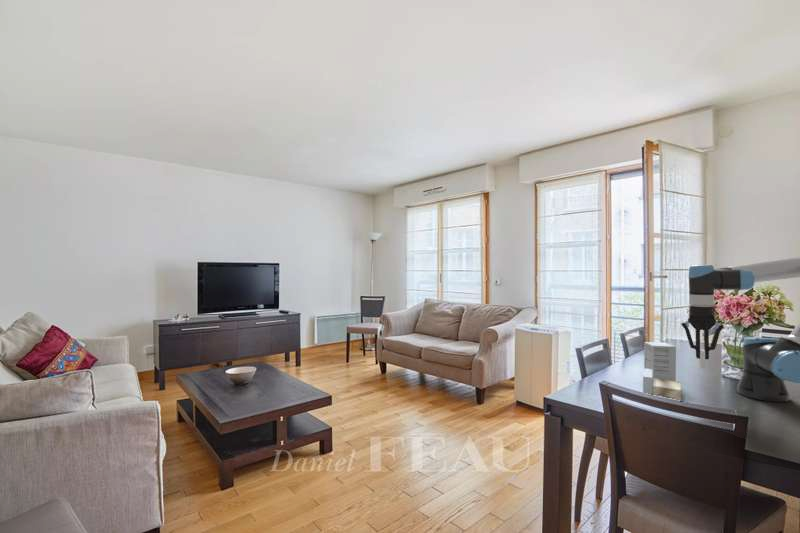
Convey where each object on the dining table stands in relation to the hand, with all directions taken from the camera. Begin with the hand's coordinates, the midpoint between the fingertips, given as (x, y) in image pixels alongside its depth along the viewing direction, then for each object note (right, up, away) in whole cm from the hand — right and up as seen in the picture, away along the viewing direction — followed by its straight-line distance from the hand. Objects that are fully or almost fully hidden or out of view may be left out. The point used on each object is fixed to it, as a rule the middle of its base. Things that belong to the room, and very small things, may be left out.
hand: (702, 367), depth 148 cm
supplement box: (0, -13, +24) cm, 27 cm away
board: (-14, -13, +11) cm, 22 cm away
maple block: (-9, -13, +7) cm, 18 cm away
